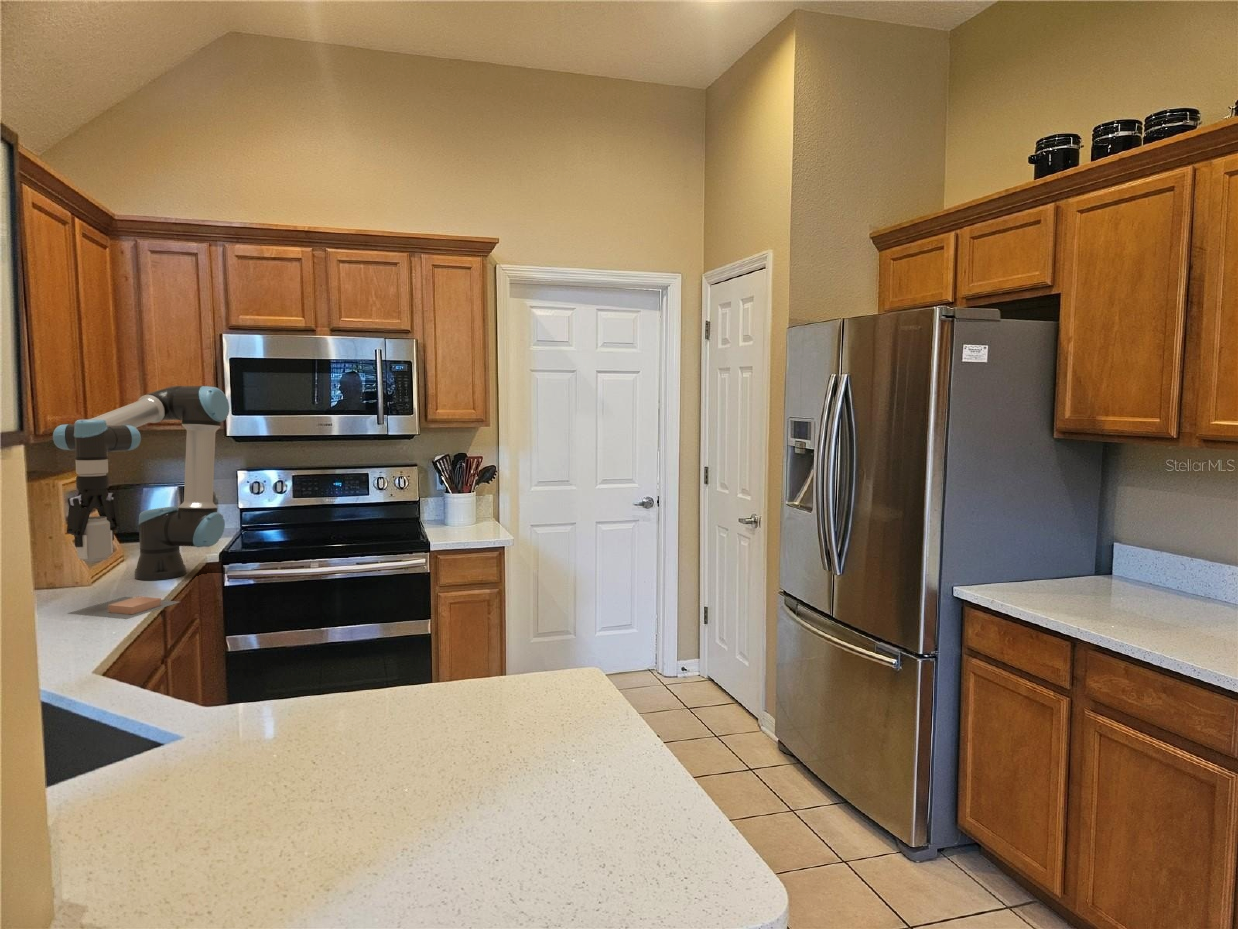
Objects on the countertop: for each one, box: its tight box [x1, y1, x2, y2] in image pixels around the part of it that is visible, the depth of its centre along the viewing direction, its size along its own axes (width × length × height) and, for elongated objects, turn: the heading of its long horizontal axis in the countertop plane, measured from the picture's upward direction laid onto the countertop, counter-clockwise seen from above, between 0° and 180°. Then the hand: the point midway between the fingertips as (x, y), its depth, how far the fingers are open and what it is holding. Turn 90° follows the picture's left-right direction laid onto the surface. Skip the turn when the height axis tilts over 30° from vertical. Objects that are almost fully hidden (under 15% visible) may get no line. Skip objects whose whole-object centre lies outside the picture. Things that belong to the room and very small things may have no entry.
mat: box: [66, 596, 180, 620], centre depth 222 cm, size 19×20×1 cm
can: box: [81, 515, 112, 562], centre depth 218 cm, size 8×8×12 cm
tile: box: [108, 595, 162, 615], centre depth 220 cm, size 2×8×10 cm
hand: (95, 555), depth 218 cm, fingers closed on can, 7 cm apart
